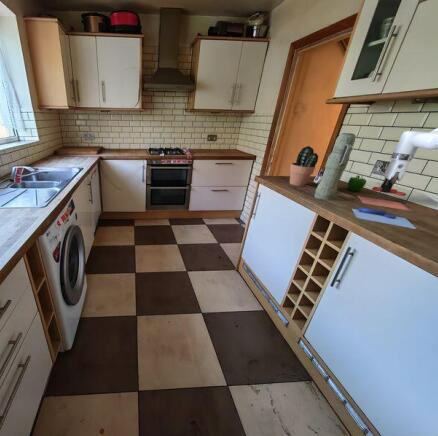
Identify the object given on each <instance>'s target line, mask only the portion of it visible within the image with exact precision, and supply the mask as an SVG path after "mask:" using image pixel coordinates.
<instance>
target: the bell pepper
mask: <svg viewBox="0 0 438 436" xmlns="http://www.w3.org/2000/svg"><path fill="white" fill-rule="evenodd" d="M366 183H367V179H365V178H362V177H361V178H360V175H356V176H351V177H350V178H349V179H348V182H347V189H348V191H351V192H360V191H361V190H362V189H363V188H364V187H365V185H366Z"/></svg>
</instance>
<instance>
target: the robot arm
mask: <svg viewBox="0 0 438 436" xmlns="http://www.w3.org/2000/svg"><path fill="white" fill-rule="evenodd" d="M419 148H422V149H426V150H438V127H436V128H435V129H433V130H432V131H430V132H424V131H420V130H419V131H418V130H405V131H404V132H403V133H402V134H401V136H400V138H399V140H398V141H397V144H396V146H395V147H394V150H393V152H392V154H391V155H390V158H389V159H390V162H389V164H388V165H387V167H386V169H385V171H384V173H383V177H384V179H383V181H382V183H381V185H380V187H381V188H382V190H381V193H385V194H390V193H389V192H390V190H391V189H393V186H394V185H395V184H396V183H397V181H398V182H400V181H402V179H403V178H404V176H405V174H406V171H407V169H408V167H409V164H410V162H412V160H413V158H414V156H415V154H416V152H417V151H418V149H419Z"/></svg>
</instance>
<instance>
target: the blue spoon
mask: <svg viewBox="0 0 438 436" xmlns="http://www.w3.org/2000/svg"><path fill="white" fill-rule="evenodd" d="M357 210H358V211H360V212H364V213H370V214H376V215H381V216H384V217H387V218H391V219H395V218H396V217H397V215H395V214H393V213H389V212H386V211H385V210H380V209H374V208H367V207H362V206H361V207H358V209H357Z"/></svg>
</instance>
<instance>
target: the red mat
mask: <svg viewBox="0 0 438 436" xmlns="http://www.w3.org/2000/svg"><path fill="white" fill-rule="evenodd" d="M357 198H358V199H359V201H360V202H361V203H363V204H367V205H373V206H379V207H386V208H391V209H396V210H397V209H398V210H403V211H409V212H414V210H413V209H412V208H411V207H409V205H407V204H406V203H405V202H398V201H391V200H386V199H379V198H373V197H366V196H359V195H357Z"/></svg>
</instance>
